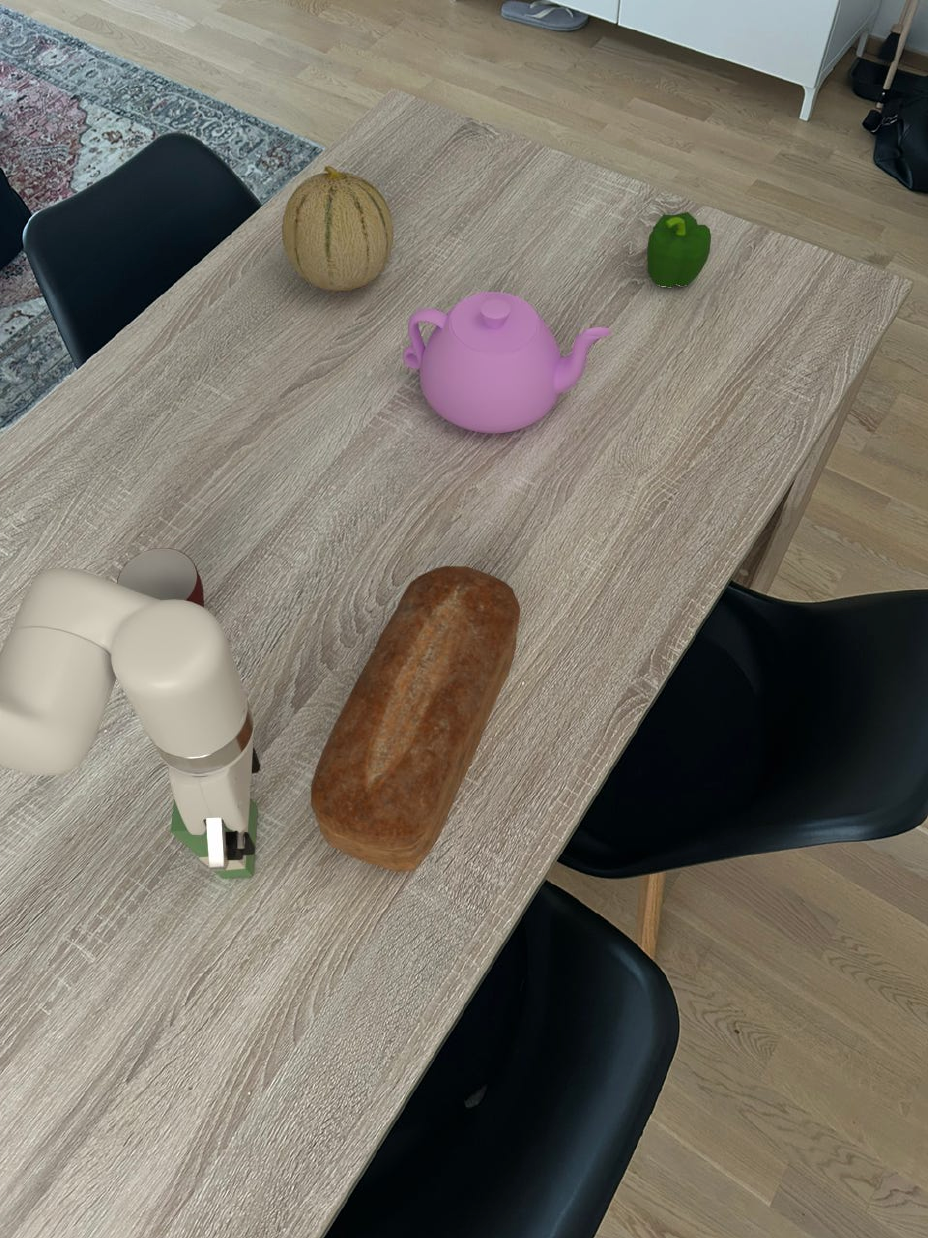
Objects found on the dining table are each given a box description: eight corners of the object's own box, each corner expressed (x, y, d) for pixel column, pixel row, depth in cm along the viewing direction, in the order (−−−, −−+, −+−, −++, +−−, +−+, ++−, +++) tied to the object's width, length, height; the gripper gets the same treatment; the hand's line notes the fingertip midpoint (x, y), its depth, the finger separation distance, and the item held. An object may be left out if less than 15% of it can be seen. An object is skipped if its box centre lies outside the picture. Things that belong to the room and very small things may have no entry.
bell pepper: (692, 254, 146) (707, 192, 137) (707, 294, 142) (724, 232, 133) (633, 258, 145) (645, 196, 137) (647, 299, 141) (660, 237, 132)
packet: (169, 833, 87) (205, 829, 87) (178, 755, 91) (212, 751, 90) (222, 880, 98) (254, 877, 98) (227, 808, 102) (258, 805, 101)
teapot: (384, 425, 128) (379, 341, 116) (420, 327, 137) (419, 240, 126) (584, 463, 126) (599, 382, 114) (607, 361, 135) (623, 275, 123)
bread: (301, 850, 100) (283, 796, 88) (425, 599, 115) (423, 525, 103) (418, 896, 97) (415, 848, 86) (529, 635, 113) (539, 564, 101)
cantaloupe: (321, 329, 137) (309, 233, 124) (269, 265, 143) (252, 168, 130) (417, 288, 141) (414, 192, 128) (362, 228, 148) (355, 130, 135)
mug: (111, 664, 110) (83, 614, 101) (124, 600, 114) (98, 546, 106) (211, 664, 110) (192, 614, 102) (220, 600, 114) (203, 547, 106)
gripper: (162, 624, 82) (206, 723, 97) (136, 835, 73) (188, 909, 88) (258, 621, 82) (287, 721, 97) (244, 832, 73) (277, 905, 88)
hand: (240, 809), depth 93 cm, fingers closed on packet, 7 cm apart
